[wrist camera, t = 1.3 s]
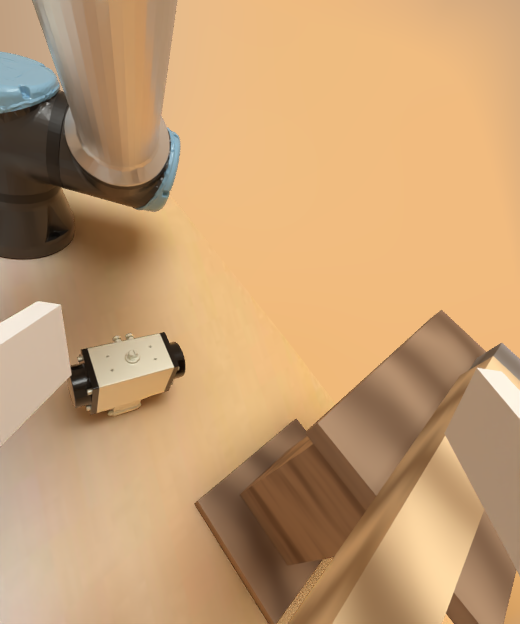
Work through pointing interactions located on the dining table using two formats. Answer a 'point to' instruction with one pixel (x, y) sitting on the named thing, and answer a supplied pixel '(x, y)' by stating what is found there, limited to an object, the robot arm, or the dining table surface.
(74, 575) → the dining table surface
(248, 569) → the shelf stand
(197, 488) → the dining table surface
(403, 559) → the brown streaked block
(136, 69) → the robot arm
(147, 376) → the pneumatic valve
